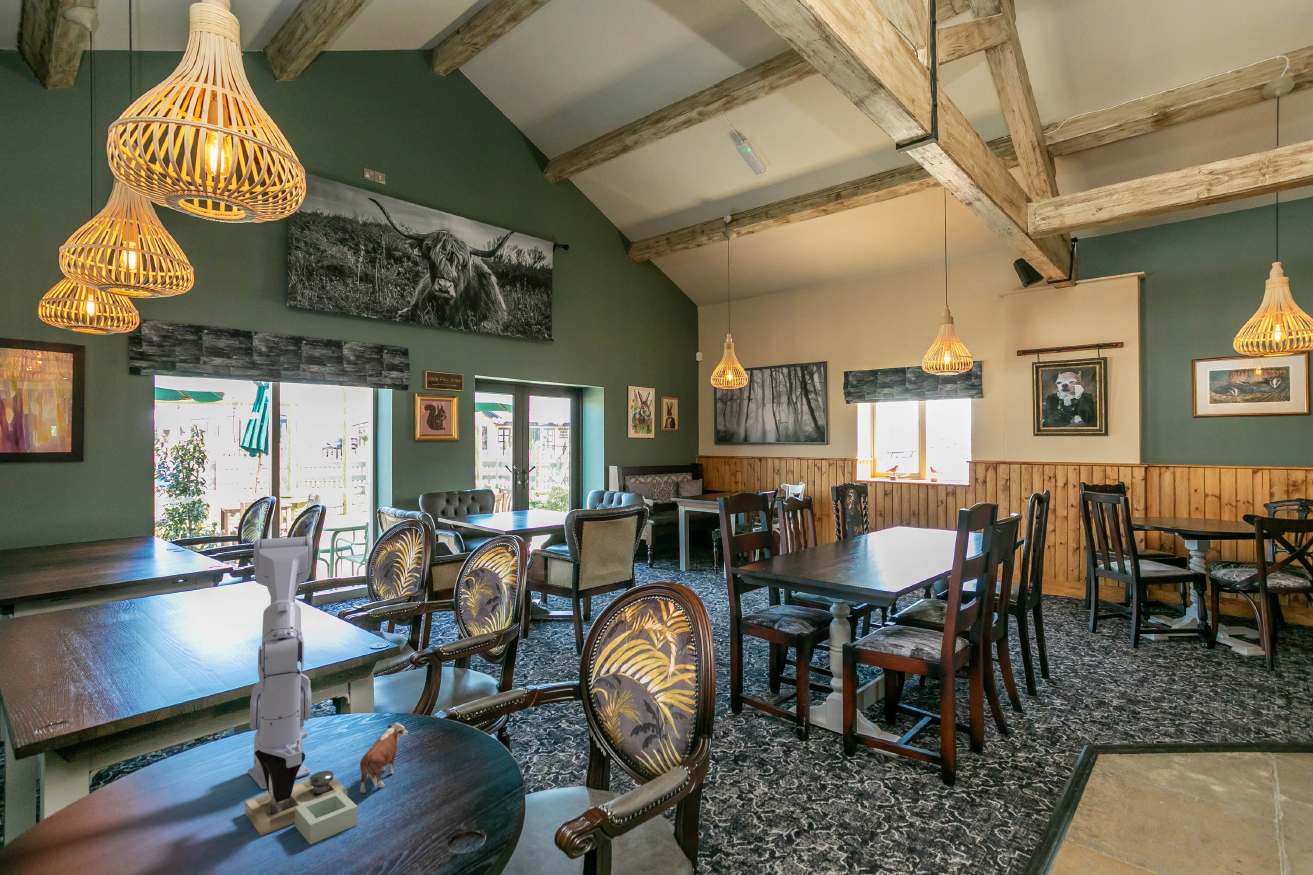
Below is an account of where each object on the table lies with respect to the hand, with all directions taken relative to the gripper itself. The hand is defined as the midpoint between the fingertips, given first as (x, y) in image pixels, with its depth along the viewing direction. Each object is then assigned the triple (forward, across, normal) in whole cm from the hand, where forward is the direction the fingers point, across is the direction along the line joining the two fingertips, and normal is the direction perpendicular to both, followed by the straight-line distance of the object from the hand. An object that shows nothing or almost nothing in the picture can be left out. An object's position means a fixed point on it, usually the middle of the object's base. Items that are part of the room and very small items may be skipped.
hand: (279, 795), depth 104 cm
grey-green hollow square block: (+4, -8, -4) cm, 10 cm away
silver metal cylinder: (+4, 0, 0) cm, 4 cm away
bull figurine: (+4, 0, -17) cm, 18 cm away
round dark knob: (+3, 0, -7) cm, 7 cm away
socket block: (+4, 0, -3) cm, 5 cm away
